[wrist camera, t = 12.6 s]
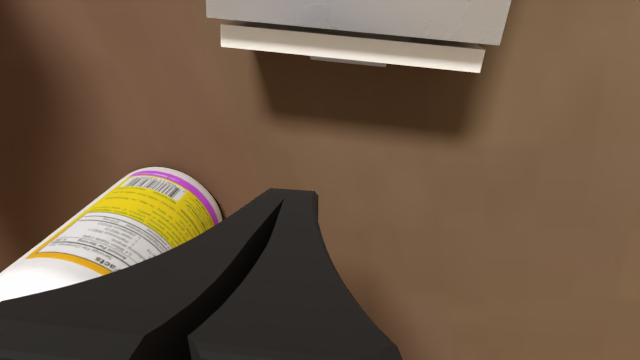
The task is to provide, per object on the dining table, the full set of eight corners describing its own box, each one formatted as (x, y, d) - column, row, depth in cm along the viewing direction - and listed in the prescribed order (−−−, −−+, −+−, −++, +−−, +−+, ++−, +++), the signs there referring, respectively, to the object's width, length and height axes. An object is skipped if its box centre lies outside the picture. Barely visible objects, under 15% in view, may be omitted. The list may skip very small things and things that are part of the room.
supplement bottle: (166, 274, 26) (-2, 503, 15) (95, 191, 24) (-164, 385, 13) (249, 236, 24) (130, 471, 12) (180, 142, 22) (-40, 321, 10)
